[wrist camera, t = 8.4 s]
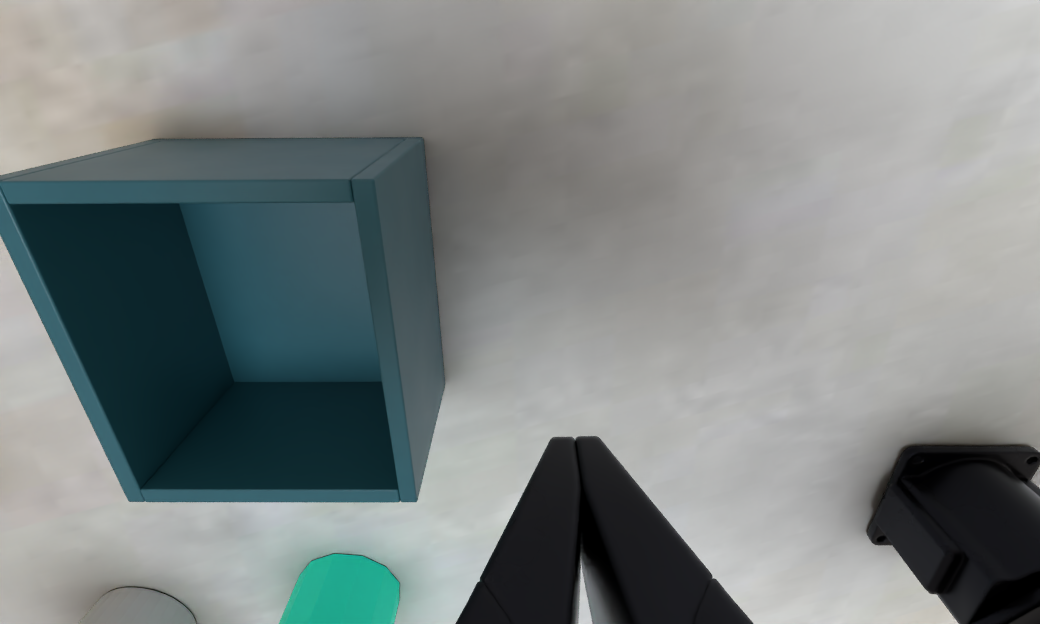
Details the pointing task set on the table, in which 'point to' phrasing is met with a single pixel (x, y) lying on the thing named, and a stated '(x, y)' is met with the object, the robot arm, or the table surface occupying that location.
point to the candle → (343, 593)
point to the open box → (242, 312)
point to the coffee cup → (137, 608)
